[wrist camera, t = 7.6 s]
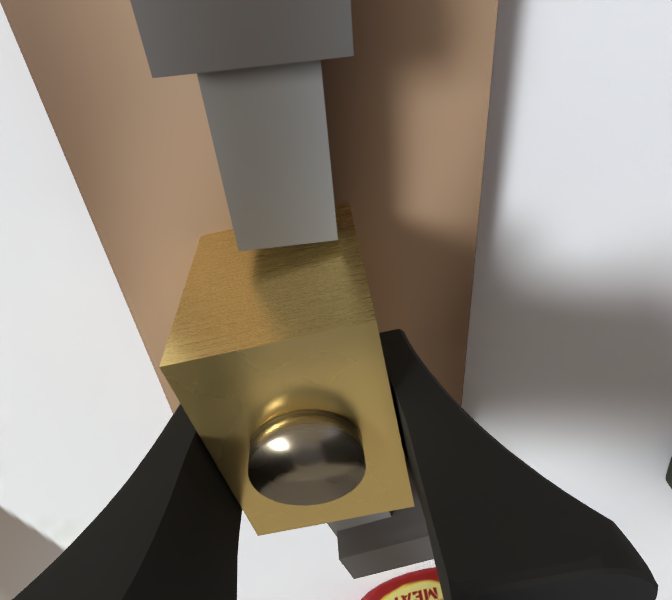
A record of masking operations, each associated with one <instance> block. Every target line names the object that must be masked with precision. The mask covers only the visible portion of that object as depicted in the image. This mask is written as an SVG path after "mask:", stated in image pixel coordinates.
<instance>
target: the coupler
mask: <svg viewBox="0 0 672 600" xmlns="http://www.w3.org/2000/svg"><path fill="white" fill-rule="evenodd" d="M335 214H336V224H337V235H338V240H334V241H325V242H317V243H308V244H299V245H290V246H282V247H273V248H264V249H255V250H246V251H238V247H237V243H236V238H235V234H234V230H233V229H230V230H225V231H221V232H216V233H212V234H207V235H203V236H201V237H200V240H199V243H198V246H197V249H196V252H195V256H194V259H193V262H192V265H191V268H190V271H189V275H188V278H187V281H186V284H185V287H184V290H183V293H182V297H181V300H180V303H179V306H178V309H177V312H176V316H175V319H174V322H173V325H172V328H171V331H170V334H169V338H168V341H167V344H166V347H165V350H164V353H163V357H162V360H161V363H160V366H159V368H160V369H161V371H162V373H163V374H164V376H165V378H166V380H167V381H168V383H169V385H170V386H171V388H172V390H173V391H174V393H175V395H176V397H177V398H178V400H179V402H180V403H181V405H182V407H183V409H184V410H185V412H186V414H187V415H188V417H189V419H190V420H191V422H192V424H193V426H194V427H195V429H196V431H197V432H198V434H199V436H200V438H201V439H202V441H203V443H204V444H205V446H206V448H207V449H208V451H209V453H210V455H211V456H212V458H213V460H214V461H215V463H216V465H217V467H218V468H219V470H220V472H221V473H222V475H223V477H224V478H225V480H226V482H227V484H228V485H229V487H230V489H231V490H232V492H233V494H234V496H235V497H236V499H237V501H238V502H239V504H240V506H241V508H242V509H243V511H244V513H245V514H246V516H247V518H248V519H249V521H250V523H251V525H252V526H253V528H254V530H255V531H256V533H257V535H258V536H259V535H265V534H270V533H275V532H281V531H286V530H291V529H297V528H302V527H307V526H313V525H318V524H323V523H329V522H334V521H339V520H345V519H350V518H356V517H361V516H366V515H372V514H377V513H382V512H388V511H393V510H398V509H404V508H409V507H414V501H413V496H412V492H411V487H410V482H409V477H408V472H407V467H406V462H405V458H404V453H403V448H402V443H401V438H400V433H399V428H398V424H397V419H396V414H395V409H394V404H393V399H392V394H391V390H390V385H389V380H388V375H387V370H386V365H385V360H384V356H383V351H382V346H381V341H380V336H379V331H378V326H377V322H376V317H375V313H374V309H373V304H372V300H371V295H370V291H369V287H368V282H367V278H366V274H365V269H364V265H363V261H362V256H361V252H360V248H359V243H358V239H357V235H356V230H355V226H354V222H353V217H352V213H351V209H350V204H349V203H344V204H340V205H335Z"/></svg>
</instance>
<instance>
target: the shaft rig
mask: <svg viewBox="0 0 672 600" xmlns="http://www.w3.org/2000/svg"><path fill="white" fill-rule="evenodd" d="M0 2H1V5H2V7H3V10H4V12H5V14H6V17H7V19H8V22H9V24H10V26H11V29H12V31H13V33H14V36H15V38H16V41H17V43H18V45H19V48H20V50H21V53H22V55H23V57H24V60H25V62H26V64H27V67H28V69H29V72H30V74H31V76H32V79H33V81H34V83H35V86H36V88H37V91H38V93H39V95H40V98H41V100H42V103H43V105H44V107H45V110H46V112H47V114H48V117H49V119H50V122H51V124H52V126H53V129H54V131H55V133H56V136H57V138H58V141H59V143H60V145H61V148H62V150H63V153H64V155H65V157H66V160H67V162H68V164H69V167H70V169H71V172H72V174H73V176H74V179H75V181H76V184H77V186H78V188H79V191H80V193H81V195H82V198H83V200H84V203H85V205H86V207H87V210H88V212H89V214H90V217H91V219H92V222H93V224H94V226H95V229H96V231H97V234H98V236H99V238H100V241H101V243H102V245H103V248H104V250H105V253H106V255H107V257H108V260H109V262H110V264H111V267H112V269H113V272H114V274H115V276H116V279H117V281H118V284H119V286H120V288H121V291H122V293H123V295H124V298H125V300H126V303H127V305H128V307H129V310H130V312H131V315H132V317H133V319H134V322H135V324H136V326H137V329H138V331H139V334H140V336H141V338H142V341H143V343H144V345H145V348H146V350H147V353H148V355H149V357H150V360H151V362H152V365H153V367H154V369H155V372H156V374H157V376H158V379H159V381H160V384H161V386H162V388H163V391H164V393H165V395H166V398H167V400H168V403H169V405H170V407H171V410H172V412H173V414H174V413H175V411H176V409H177V408H178V406H179V405H180V402H179V400H178V398H177V397H176V395H175V393H174V391H173V390H172V388H171V386H170V385H169V383H168V381H167V380H166V378H165V376H164V374H163V373H162V371H161V369H160V368H159V366H160V363H161V360H162V357H163V353H164V350H165V347H166V344H167V341H168V338H169V334H170V331H171V328H172V325H173V322H174V319H175V316H176V312H177V309H178V306H179V303H180V300H181V297H182V293H183V290H184V287H185V284H186V281H187V278H188V275H189V271H190V268H191V265H192V262H193V259H194V256H195V252H196V249H197V246H198V243H199V240H200V237H201V236H203V235H207V234H212V233H216V232H221V231H225V230H230V229H233V230H234V234H235V238H236V243H237V247H238V251H246V250H255V249H264V248H273V247H282V246H290V245H299V244H308V243H317V242H325V241H334V240H338V235H337V224H336V214H335V205H340V204H344V203H349V204H350V209H351V213H352V217H353V222H354V226H355V230H356V235H357V239H358V243H359V248H360V252H361V256H362V261H363V265H364V269H365V274H366V278H367V282H368V287H369V291H370V295H371V300H372V304H373V309H374V313H375V317H376V322H377V326H378V331H379V333H381V332H386V331H390V330H395V329H401V330H402V331H404V333H405V335H406V337H407V339H408V340H409V342H410V344H411V345H412V347H413V349H414V350H415V352H416V353H417V355H418V356H419V357H420V359H421V360H422V362H423V363H424V364H425V366H426V367H427V368H428V370H429V371H430V372H431V373H432V375H433V376H434V377H435V378H436V379H437V381H438V382H439V383H440V384H441V385H442V387H443V388H444V389H445V390H446V391H447V392H448V393H449V395H450V396H451V397H452V398H453V399H454V400H455V401H456V402H457V403H458V404H459V405H460V406H461V405H462V394H463V383H464V372H465V361H466V350H467V339H468V328H469V317H470V306H471V295H472V285H473V274H474V263H475V252H476V241H477V230H478V219H479V208H480V197H481V186H482V175H483V164H484V153H485V142H486V131H487V120H488V109H489V98H490V87H491V76H492V66H493V55H494V44H495V33H496V22H497V11H498V0H0ZM403 453H404V451H403ZM404 458H405V462H406V467H407V472H408V477H409V482H410V487H411V492H412V496H413V501H414V507H409V508H404V509H398V510H393V511H388V512H382V513H377V514H372V515H366V516H361V517H356V518H350V519H345V520H339V521H334V522H329V523H327V524H328V525H329V526H330V528H331V529H332V531H333V532H334V533H335V535H336V536H337V538H338V551H339V560H340V561H341V562H342V564H343V565H344V566H345V568H346V569H347V570H348V572H349V573H350V574H351V576H352V577H353V578H354V579H356V578H360V577H364V576H368V575H372V574H376V573H380V572H384V571H388V570H392V569H396V568H400V567H404V566H407V565H411V564H415V563H419V562H423V561H427V560H431V559H434V556H433V551H432V547H431V543H430V538H429V534H428V530H427V525H426V521H425V517H424V514H423V510H422V507H421V503H420V500H419V497H418V494H417V491H416V488H415V484H414V481H413V478H412V475H411V472H410V469H409V466H408V463H407V460H406V457H405V454H404ZM242 510H243V509H242Z"/></svg>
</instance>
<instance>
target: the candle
mask: <svg viewBox="0 0 672 600" xmlns="http://www.w3.org/2000/svg"><path fill="white" fill-rule="evenodd" d="M666 481H667V483H668V484H669V486H670V487H671V489H672V458H671V461H670V464H669V467H668V471H667V474H666Z"/></svg>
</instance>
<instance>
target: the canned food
mask: <svg viewBox="0 0 672 600" xmlns="http://www.w3.org/2000/svg"><path fill="white" fill-rule="evenodd" d="M361 600H444V599H443V595H442V591H441V586H440V582H439V578H438V573H437V569H436V567H434V568H428V569H422V570H418V571H414V572H410V573H406V574H404V575H401V576H398V577H395V578H392V579H390V580H388V581H386V582H384V583H382V584H380V585H378V586H377V587H375V588H374V589H372V590H371V591H369V592H368V593H367V594H366V595H365V596H364V597H363V598H362V599H361Z"/></svg>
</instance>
